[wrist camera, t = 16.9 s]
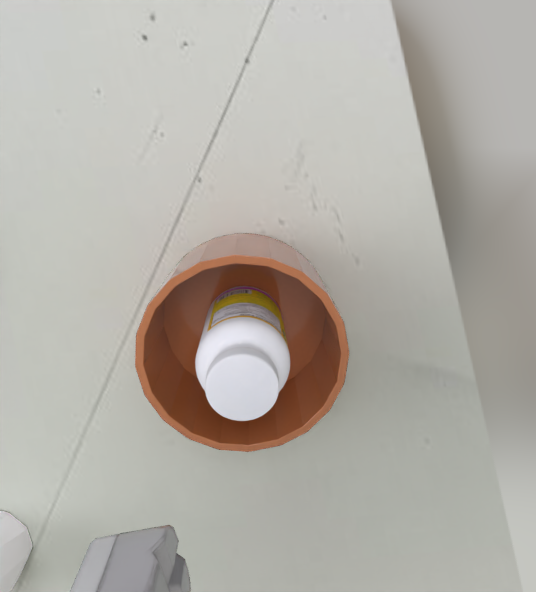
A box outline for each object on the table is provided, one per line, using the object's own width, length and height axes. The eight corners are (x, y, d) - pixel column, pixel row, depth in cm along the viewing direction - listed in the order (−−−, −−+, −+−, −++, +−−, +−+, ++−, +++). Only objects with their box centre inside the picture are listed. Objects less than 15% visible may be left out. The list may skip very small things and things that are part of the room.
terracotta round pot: (312, 216, 41) (328, 234, 32) (342, 375, 45) (363, 429, 36) (138, 254, 41) (107, 282, 33) (184, 408, 46) (168, 468, 37)
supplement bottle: (257, 367, 44) (258, 452, 31) (193, 331, 42) (168, 406, 30) (297, 307, 42) (315, 373, 30) (232, 268, 41) (222, 320, 29)
